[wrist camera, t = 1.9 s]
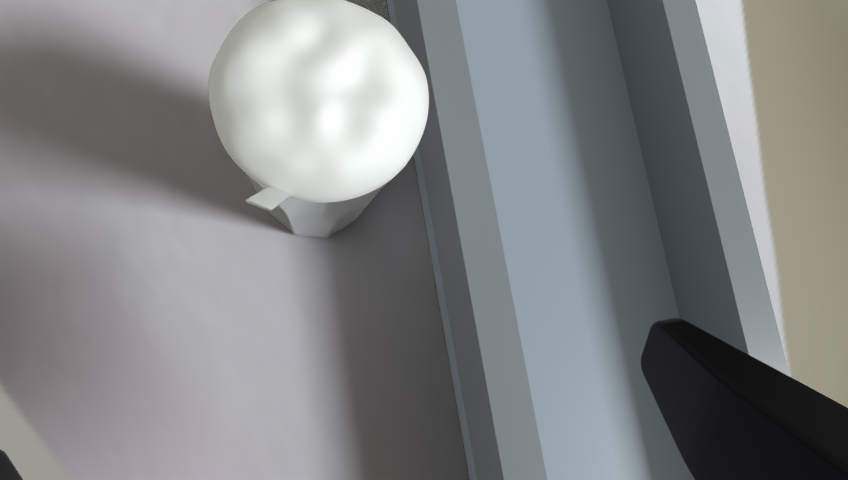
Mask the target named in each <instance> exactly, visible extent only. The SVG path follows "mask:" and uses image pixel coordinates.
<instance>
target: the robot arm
mask: <svg viewBox="0 0 848 480" xmlns="http://www.w3.org/2000/svg"><path fill="white" fill-rule="evenodd" d="M641 369H642V372H643V375H644V377H645V379H646V381H647V383H648V386H649V388H650V390H651V392H652V394H653V396H654V399H655V401H656V403H657V405H658V407H659V409H660V412H661V414H662V416H663V418H664V420H665V422H666V424H667V427H668V429H669V431H670V433H671V435H672V437H673V440H674V442H675V444H676V446H677V448H678V450H679V452H680V454H681V456H682V458H683V460H684V462H685V464H686V465H687V467H688V469H689V471H690V473H691V474H692V476H693V478H694V479H695V480H848V408H847V407H845V406H843V405H841V404H839V403H837V402H835V401H834V400H832V399H830V398H828V397H826V396H824V395H822V394H820V393H819V392H817V391H815V390H813V389H811V388H810V387H808V386H806V385H804V384H802V383H800V382H798V381H797V380H795V379H793V378H791V377H789V376H787V375H786V374H784V373H782V372H780V371H778V370H776V369H774V368H773V367H771V366H769V365H767V364H765V363H763V362H761V361H760V360H758V359H756V358H754V357H752V356H750V355H749V354H747V353H745V352H743V351H741V350H739V349H737V348H736V347H734V346H732V345H730V344H728V343H726V342H725V341H723V340H721V339H719V338H717V337H715V336H713V335H712V334H710V333H708V332H706V331H704V330H702V329H700V328H699V327H697V326H695V325H693V324H691V323H689V322H688V321H686V320H683V319H681V318H671V319H666V320H660V321H657V322H655V323H653V324H652V326H651V328H650V330H649V333H648V336H647V340H646V343H645V346H644V349H643V352H642V355H641ZM0 480H23V479H22V477H21V476H20V474H19V473H18V471H17V470H16V468H15V467H14V465H13V464H12V462H11V461H10V459H9V457H8V456H7V455H6V453H5V452H4V451H2V450H0Z"/></svg>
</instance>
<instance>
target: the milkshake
mask: <svg viewBox="0 0 848 480" xmlns="http://www.w3.org/2000/svg"><path fill="white" fill-rule="evenodd" d="M208 96H209V103H210V108H211V113H212V117H213V121H214V124H215V127H216V130H217V133H218V136H219V138H220V140H221V142H222V144H223V146H224V148H225V150H226V151H227V153H228V154H229V156H230V157H231V158H232V159H233V161H234V162H235V163H236V164H237V165H238V166H239V167H240V168H241V170H242V171H243V172H244V173H245V175H246V176H247V177H248V179H249V180H250V181H251V183H252V184H253V186H254V188H255V189H256V191H257V193H256V194H254V195H253V196H251V197H249V198H248V199H246V200H245V201H246V202H247V203H248V204H251V205H253V206H256V207H258V208H261V209H263V210H266V211H269V212H270V213H271V215H272V216H273V217H275V218H276V219H277V220H278V221H280V222H281V223H282V224H283V225H285V226H286V227H287V228H288V229H289V230H291V231H292V232H293V233H294V234H295V235H302V236H316V237H329V236H330V235H332V234H334V233H335V232H337V231H338V230H340V229H342V228H343V227H345V226H347V225H349V224H350V223H352V222H353V221H354V220H355V219H356V218H357V217H358V216H359V214H360V213H361V212H362V211H363V210H364V209H365V207H366V206H367V205H368V204H369V203H370V202H371V200H372V199H373V198H374V197H375V195H376V194H377V193H378V192H379V191H380V190H381V189H382V188H383V187H384V186H385V185H386V184H387V183H388V182H389V181H391V180H392V179H393V178H394V177H395V176H396V175H397V174H398V173H399V172H400V171H401V170H402V169H403V168H404V167H405V165H406V164H407V163H408V161H409V160H410V159H411V157H412V155H413V154H414V152H415V150H416V148H417V146H418V144H419V142H420V140H421V137H422V135H423V132H424V129H425V126H426V122H427V117H428V109H429V91H428V84H427V79H426V75H425V73H424V70H423V68H422V66H421V64H420V62H419V61H418V59H417V58H416V56H415V55H414V53H413V52H412V50H411V49H410V47H409V46H408V44H407V43H406V42H405V40H404V39H403V37H402V36H401V35H400V33H399V32H398V31H397V30H396V29H395V27H394V26H393V25H391V24H390V23H389V22H388V21H387V20H385V19H384V18H382V17H381V16H379V15H377V14H375V13H373V12H371V11H369V10H367V9H365V8H363V7H361V6H358V5H356V4H354V3H351V2H348V1H345V0H275V1H271V2H268V3H265V4H263V5H261V6H259V7H257V8H255V9H253V10H252V11H250V12H249V13H248V14H246V15H245V16H244V17H243V18H242V19H241V20H240V21H239V22H238V23H237V24H236V25H235V26H234V27H233V29H232V30H231V31H230V33H229V34H228V36H227V37H226V39H225V41H224V42H223V44H222V46H221V48H220V49H219V51H218V53H217V55H216V57H215V59H214V62H213V64H212V67H211V70H210V74H209V80H208Z"/></svg>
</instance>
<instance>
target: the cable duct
mask: <svg viewBox="0 0 848 480" xmlns="http://www.w3.org/2000/svg"><path fill="white" fill-rule="evenodd" d="M387 6H388V11H389V17H390V23H391V25H393V26H394V27H395V29H396V30H397V31H398V32H399V33H400V35H401V36H402V37H403V39H404V40H405V42H406V43H407V44H408V46H409V47H410V49H411V50H412V52H413V53H414V55H415V56H416V58H417V59H418V61H419V62H420V64H421V66H422V68H423V70H424V73H425V75H426V79H427V84H428V91H429V109H428V117H427V122H426V126H425V129H424V132H423V135H422V137H421V140H420V142H419V144H418V146H417V148H416V150H415V152H414V154H413V156H414V161H415V167H416V173H417V179H418V184H419V190H420V196H421V202H422V207H423V213H424V219H425V225H426V230H427V236H428V242H429V248H430V253H431V259H432V265H433V271H434V277H435V282H436V288H437V294H438V300H439V305H440V311H441V317H442V323H443V328H444V334H445V340H446V346H447V351H448V357H449V363H450V369H451V374H452V380H453V386H454V392H455V397H456V403H457V409H458V415H459V421H460V426H461V432H462V438H463V444H464V449H465V455H466V461H467V467H468V472H469V478H470V480H695V479H694V478H693V476H692V474H691V473H690V471H689V469H688V467H687V465H686V464H685V462H684V460H683V458H682V456H681V454H680V452H679V450H678V448H677V446H676V444H675V442H674V440H673V437H672V435H671V433H670V431H669V429H668V427H667V424H666V422H665V420H664V418H663V416H662V414H661V412H660V409H659V407H658V405H657V403H656V401H655V399H654V396H653V394H652V392H651V390H650V388H649V386H648V383H647V381H646V379H645V377H644V375H643V372H642V369H641V355H642V352H643V349H644V346H645V343H646V340H647V336H648V333H649V330H650V328H651V326H652V324H653V323H655V322H657V321H660V320H666V319H671V318H681V319H683V320H686V321H688V322H689V323H691V324H693V325H695V326H697V327H699V328H700V329H702V330H704V331H706V332H708V333H710V334H712V335H713V336H715V337H717V338H719V339H721V340H723V341H725V342H726V343H728V344H730V345H732V346H734V347H736V348H737V349H739V350H741V351H743V352H745V353H747V354H749V355H750V356H752V357H754V358H756V359H758V360H760V361H761V362H763V363H765V364H767V365H769V366H771V367H773V368H774V369H776V370H778V371H780V372H782V373H784V374H786V375H787V376H789V377H790V375H789V371H788V367H787V364H786V360H785V356H784V352H783V348H782V344H781V340H780V336H779V332H778V328H777V324H776V320H775V316H774V312H773V308H772V304H771V300H770V296H769V292H768V288H767V284H766V280H765V276H764V272H763V268H762V264H761V260H760V256H759V252H758V248H757V244H756V240H755V236H754V232H753V228H752V224H751V220H750V216H749V212H748V209H747V205H746V201H745V197H744V193H743V189H742V185H741V181H740V177H739V173H738V169H737V165H736V161H735V157H734V153H733V149H732V145H731V141H730V137H729V133H728V129H727V125H726V121H725V117H724V113H723V109H722V105H721V101H720V97H719V93H718V89H717V85H716V81H715V77H714V73H713V69H712V65H711V61H710V57H709V54H708V50H707V46H706V42H705V38H704V34H703V30H702V26H701V22H700V18H699V14H698V10H697V6H696V2H695V0H387Z"/></svg>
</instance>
